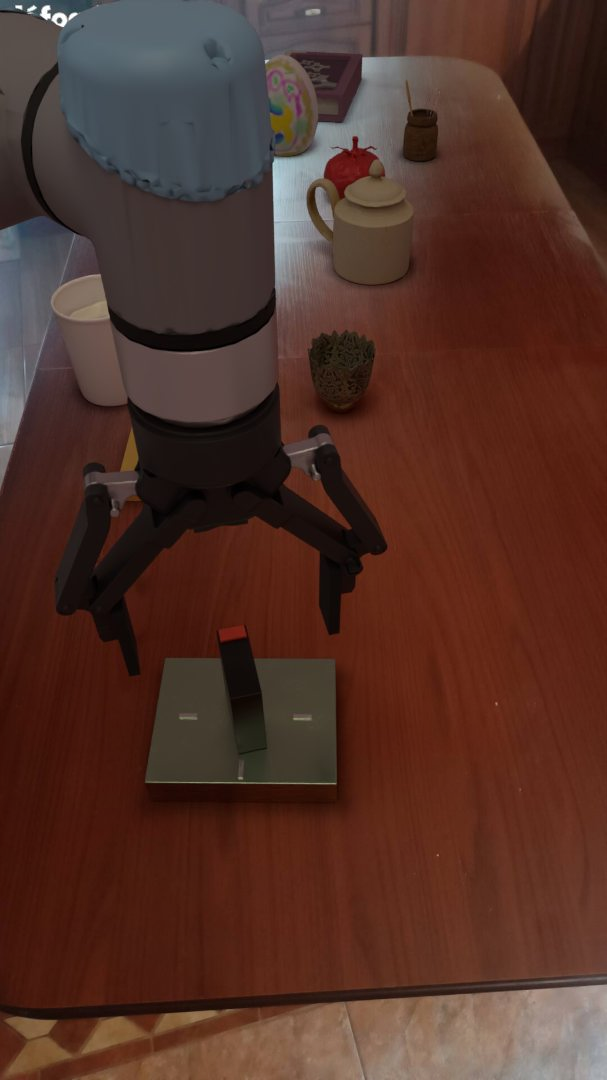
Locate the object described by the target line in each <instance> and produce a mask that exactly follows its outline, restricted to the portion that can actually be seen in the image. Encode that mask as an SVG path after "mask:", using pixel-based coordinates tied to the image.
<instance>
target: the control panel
mask: <svg viewBox="0 0 607 1080" xmlns="http://www.w3.org/2000/svg"><path fill="white" fill-rule="evenodd" d="M163 660H164V661H163V668H162V673H161V679H160V686H159V690H158V691H159V692H158V697H157V704H156V710H155V715H154V716H155V717H154V723H153V729H152V735H151V739H150V747H149V751H148V752H149V753H148V758H147V759H148V760H147V764H146V771H145V778H144V785H145V787H146V791H147V794H148V797H149V799H150V801H151V802H231V803H232V802H234V803H235V802H236V803H237V802H238V803H245V802H246V803H333V804H334V803H337V798H338V747H337V745H338V744H337V743H338V742H337V741H338V740H337V739H338V737H337V677H336V676H337V674H336V673H337V670H336V669H337V666H336V665H337V662H336V661H337V660H336V658H301V657H300V658H297V657H296V658H295V657H294V658H282V657H281V658H277V657H275V658H274V657H273V658H272V657H271V658H268V657H266V658H265V657H263V658H262V657H254V661H255V666H256V670H257V674H258V678H259V682H260V687H261V691H262V699H263V710H264V720H265V730H266V741H267V747H266V748H262V749H257V750H253V751H248V752H244V753H239V754H238V750H237V745H236V740H235V735H234V730H233V725H232V720H231V715H230V710H229V705H228V700H227V695H226V690H225V685H224V678H223V672H222V665H221V659H220V657H165V658H164V659H163Z"/></svg>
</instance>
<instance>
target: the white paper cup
mask: <svg viewBox="0 0 607 1080" xmlns="http://www.w3.org/2000/svg"><path fill="white" fill-rule="evenodd" d="M50 308H51V310H52V312H53V315H54V317H55V321H56V324H57V326H58V329H59V332H60V336H61V338H62V342H63V344H64V347H65V350H66V354H67V356H68V360H69V362H70V365H71V368H72V371H73V373H74V376H75V380H76V382H77V385H78V387H79V390H80V393H81V395H82V396H83V398H84V399H85V400H86V401H88V402H89V403H91V404H93V405H97V406H101V407H119V406H125V405H127V394H126V391H125V388H124V386H123V381H122V377H121V372H120V367H119V362H118V358H117V353H116V348H115V343H114V339H113V334H112V329H111V324H110V320H109V319H110V316H109V313H108V307H107V301H106V298H105V292H104V288H103V283H102V279H101V275H100V273H97V274H88V275H83V276H81V277H78V278H74V279H71V280H69V281H67V282H66V283H64V284H62V285H61V286H59V287H57V288H56V290H55V291H54V292H53V293H52V296H51V298H50Z"/></svg>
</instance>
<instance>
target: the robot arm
mask: <svg viewBox="0 0 607 1080" xmlns="http://www.w3.org/2000/svg"><path fill="white" fill-rule="evenodd" d="M265 64H266V57H265V49H264V44H263V41H262V39H261V36H260V35H259V32H258V30H257V29H256V27H255V26H254V25H253V24H252V23H251V22H250V20H249V19H248V18H247V17H246V16H244V15H243V14H242V13H240V12H239V11H237V10H235V9H233V8H232V7H229V6H227V5H225V4H222V3H219V2H215V1H210V0H116V1H111V2H105V3H102V4H98V5H96V6H93V7H90V8H88V9H84V10H83V11H80V12H79V13H77V14H76V15H74V16H72V18H70V19H69V20H68V21H67V22H65V24H64V26H61V25H59V24H57V23H56V22H55V21H53V20H50V19H46V18H45V17H43V16H42V15H40V14H38V13H36V12H32V13H28V12H26V11H25V10H23V9H21V8H19V7H10V6H9V7H8V6H0V231H3V230H6V229H9V228H11V227H14V226H17V225H19V224H22V223H24V222H28V221H29V220H32V219H36V218H39V217H45V218H47V219H48V220H51V221H53V222H55V223H56V224H58V225H60V226H62V227H64V228H65V229H67V230H68V231H70V232H72V233H74V234H75V235H78V236H81V237H84V238H86V239H87V240H89V241H90V242H91V244H92V246H93V248H94V252H95V257H96V261H97V262H96V263H97V265H98V269H99V274H100V275H101V279H102V283H103V288H104V292H105V298H106V301H107V307H108V313H109V316H110V319H109V320H110V324H111V329H112V334H113V339H114V343H115V348H116V353H117V358H118V362H119V367H120V372H121V377H122V381H123V386H124V388H125V391H126V394H127V404H126V405H127V409H128V413H129V419H130V424H131V427H132V429H133V434H134V439H135V443H136V448H137V453H138V462H137V465H136V467H135V469H134V471H122V472H120V471H111V472H107V470H106V467H105V466H104V464H102V463H100V462H96V461H95V462H89V463H87V464H85V465H84V466H83V468H82V481H83V482H82V483H83V492H84V497H83V500H82V503H81V505H80V507H79V510H78V513H77V516H76V519H75V521H74V524H73V526H72V529H71V532H70V534H69V537H68V540H67V542H66V545H65V548H64V551H63V554H62V556H61V559H60V561H59V564H58V567H57V569H56V573H55V575H54V579H53V580H54V602H55V612H56V614H58V615H60V616H64V617H65V616H68V617H69V616H72V615H74V614H75V613H76V612H77V611H85V612H86V611H87V612H88V613H90V615H91V617H92V619H93V622H94V626H95V628H96V631H97V634H98V638H99V640H101V641H102V642H103V643H107V642H113V641H118V643H119V647H120V650H121V653H122V657H123V660H124V663H125V666H126V671H127V673H128V677H129V678H131V677H135V676H140V675H142V673H141V665H140V657H139V651H138V641H137V639H136V638H137V637H136V634H135V631H134V628H133V624H132V619H131V617H130V616H131V615H130V613H129V609H128V605H127V602H126V598H125V594H126V593H127V592H128V591H129V590H130V588H131V587H132V586H133V585H134V584H135V583H136V581H137V580H138V579H139V578H140V577H141V575H143V574H144V572H145V571H146V570H147V569H148V568H149V566H151V564H152V563H154V561H155V560H156V558H157V557H158V556H159V555H160V554H161V553H162V551H163V550H164V549H166V550H170V549H171V548H172V547H173V546H174V545H175V544H176V543H177V542H178V540H180V539H181V538H182V536H183V535H184V534H185V533H186V531H187V530H191V531H192V530H193V533H194V534H198V533H204V532H209V531H212V530H214V529H217V528H219V527H238V526H242V525H248V524H249V520H251V519H253V518H254V517H256V518H257V519H259V520H261V521H263V522H264V523H266V524H267V525H268V526H271V527H272V528H274V529H275V530H279V529H280V528H281V529H283V530H284V531H286V532H288V533H289V534H291V535H293V536H294V537H296V538H297V539H299V540H300V541H302V542H304V543H305V544H306V545H308V546H310V547H312V548H313V549H315V550H316V551H317V552H319V563H318V564H319V565H318V567H319V568H318V570H319V572H318V573H319V574H318V576H319V577H318V606H319V610H320V613H321V616H322V619H323V622H324V625H325V628H326V630H327V631H326V632H327V634H328V636H333V635H338V634H340V631H341V629H340V628H341V612H342V611H341V609H342V595H344V594H351V593H353V592H354V590H355V588H356V584H357V583H356V580H357V576H358V575H361V573H362V572H363V570H364V565H363V562H362V560H361V558H362V557H363V556H365V555H367V554H371V556H380V555H382V554H384V553H385V552H386V551H387V550H388V548H389V546H388V545H389V544H388V543H387V540H386V538H385V536H384V534H383V531H382V529H381V527H380V524H379V522H378V520H377V517H376V516H375V515H374V513H373V512H372V511H371V508H370V507H369V506H368V504H367V503H366V501H365V500H364V498H363V497H362V495H361V493H360V492H359V491H358V489H357V488H356V486H355V485H354V484H353V482H352V481H351V479H350V478H349V476H348V474H347V473H346V472H345V470H344V469H343V468H342V461H341V456H340V454H339V451H338V449H337V447H336V445H335V442H334V439H333V437H332V435H331V433H330V431H329V428H328V427H327V426H326V425H324V424H316V425H314V426H312V427H311V428H310V429H309V430H308V433H307V438H306V439H301V440H299V441H295V442H291V443H286V444H284V442H283V441H282V421H281V392H280V390H281V389H280V385H279V382H278V380H279V379H280V362H279V361H280V360H279V338H278V313H277V290H276V251H275V248H276V247H275V246H276V245H275V208H274V206H275V204H274V168H273V167H274V162H275V156H274V155H275V142H276V139H275V130H273V129H272V127H271V117H270V107H269V96H268V86H267V76H266V65H265ZM292 469H300V470H301V471H302V473H303V474H304V475H305V476H306V477H308V478H311V480H312V481H313V482H319V481H320V482H321V485H322V488H323V490H324V492H325V494H326V495H327V497H328V498H329V499H330V501H331V502H332V503H333V505H334V506H335V507H336V509H337V510H338V512H339V513H340V514H341V516H342V517H343V519H344V520H345V521H346V522H347V524H348V525H349V526H350V528H349V529H348V528H347V527H346V526H344V525H343V524H342V523H340V522H339V521H338V520H336V519H334V518H333V517H331V516H330V515H328V514H327V513H325V512H324V511H323V510H321V509H320V508H318V507H317V506H315V505H314V504H312V503H311V502H310V501H308V500H306V499H305V498H303V496H301V495H299V494H298V493H296V492H295V491H294V490H292V489H290V487H288V486H287V485H285V483H284V482H285V481H286V480H287V479H288V477H289V476H290V474H291V472H292ZM136 495H137V496H138V497H139V499H140V500H141V501H140V502H142V503H143V504H142V507H141V511H140V512H139V513H138V514H137V516H136V518H134V520H133V521H132V522H131V523H130V524H129V526H128V527H127V528H126V529H125V531H124V532H123V533H122V534H121V535H120V537H119V538H118V539H117V540H116V542H115V543H114V544H113V545H112V547H111V548H110V549H109V551H108V552H107V553H106V554H105V556H104V557H102V559H101V561H99V563H98V560H99V558H100V555H101V553H102V550H103V548H104V546H105V543H106V541H107V538H108V535H109V533H110V531H111V525H112V518H116V517H119V516H120V514H121V510H123V509H124V507H125V504H126V502H127V501H126V500H127V499H128V498H130V497H132V496H136ZM97 563H98V564H97Z"/></svg>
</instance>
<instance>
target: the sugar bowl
mask: <svg viewBox="0 0 607 1080" xmlns="http://www.w3.org/2000/svg"><path fill="white" fill-rule="evenodd" d="M381 163H382V161H380V159H379V160H378V159H376V160H374V161H373V163H372V164H371V166H370V169H369V174H370V175H371V176H368V177H364V178H361V179H358V180H357V181H355V182H354V183H353V184H351V185H349V186H347V187H346V189H345V191H344V194H345V198H343V199H342V200H340V199H339V194H338V191H337V189H336V187H335V185H334V184H333V183H332V182H331V181H330V180H328V179H325V178H324V177H323V178H322V177H321V178H317V179H315V180H314V181H312V182H311V183H310V185H309V186H308V188H307V191H306V196H305V197H306V199H305V200H306V201H305V202H306V208H307V211H308V215H309V218H310V221H311V222H312V224H313V226H314V227H315V229H316V230H317V231H318V232H319V234H320V235H321V236H322V237H323V238H324V239H325V240H326V241H328V243H329V244H330V245H331V246H332V257H333V258H332V263H333V270H334V271H335V273H336V274H337V275H338V276H340V277H341V278H342V279H344V280H346V281H348V282H351V283H354V284H359V285H365V286H366V285H367V286H375V285H376V286H377V285H385V284H391V283H393V282H395V281H398V280H400V279H401V278H403V277H404V276H405V275H406V274H407V272H408V270H409V266H410V259H411V251H412V250H411V249H412V241H413V230H414V217H415V209H414V207H413V205H412V203H411V202H409V200H407V199H406V196H407V193H408V192H407V190H406V189H405V188H404V187H403V186H402V185H400V184H399V183H398V182H396V181H395V180H394V179H391V178H389V177H388V176H387V177H386V176H385V177H381V176H382V174H383V172H384V170H383V166H384V165H383V166H382V164H383V163H382V164H381ZM317 188H322V190H324V192H325V193H326V194H327V196H328V199H329V204H330V207H331V208H330V209H331V212H332V213H331V214H332V218H333V226H332V227H333V228H332V229H331V228H330V227H329V226H328V224H327V223H326V222H325V221H324V219H323V217H322V216H321V214H320V212H319V209H318V204H317V200H316V191H317Z"/></svg>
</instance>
